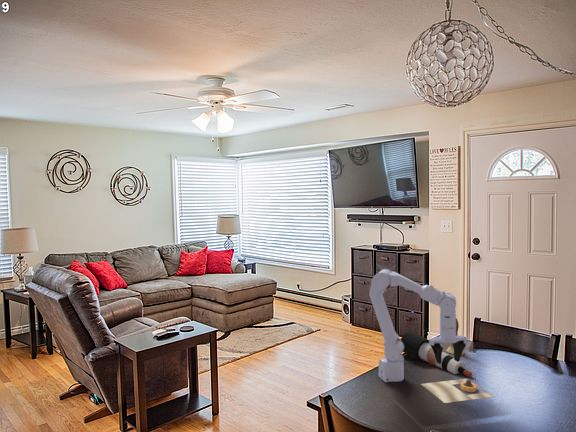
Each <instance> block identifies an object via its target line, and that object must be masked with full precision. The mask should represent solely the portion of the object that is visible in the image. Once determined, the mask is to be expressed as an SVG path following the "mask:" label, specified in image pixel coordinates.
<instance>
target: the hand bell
mask: <svg viewBox="0 0 576 432" xmlns="http://www.w3.org/2000/svg"><path fill="white" fill-rule="evenodd" d="M459 325H460V324H459V320H458V318H457V317H456V336H459V335H458V331H459V329H460V328H459ZM446 351H447V352H446ZM445 352H446V353H447V354H449V353H451V354H450V355H453V354H454V347H453V343H449V347H448V348H446V350H445ZM465 354H466V351H465V349H464V350H463V351H462V354H461V356H463V355H465Z"/></svg>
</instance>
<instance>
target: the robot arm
mask: <svg viewBox="0 0 576 432" xmlns="http://www.w3.org/2000/svg"><path fill="white" fill-rule="evenodd" d="M388 286H390V287H398V286H399V287H403V288H405V289H407V290H410V291H412V292H414V293H417V294H418V295H419V297H420V299H422V300H423V301H426V302H428V303H430V304H433V305H435V306H437V307H439V309H440V313H439V336H436V337H433V338H429V339H428V340H429V344H430V345H431V347H432V349H433V351H434V354H435V357H436V362H437V363H439V364H441V355H442V351H444V350H443V349H444V348H443V346H441V345H443V344H450V343H453V347H454V355H453V357H454V360H455V361H457V362H459V361H461V356H462V355H461V354H462V351H463V350H464V351H465V348H466V345H467V344H466V343H467V336H465V335H458V336H456V318H457V315H456V312H457V311H456V310H457V309H456V307H457V299H456V297H455V296H454V294H452V293H451V292H446V291H444V290H443V291H442V290H439V289H438V288H435V287H434V285H432V284H430V285H428V284H425V285H421V284H419V283H417V282H416V281H414V280H411V279H409V278H408V277H406V276H405V275H402V274H400V273H398V272H396V271H392V270H391V269H388V268H383V269H381V270H380V271H379V272H377V273H376V274H374V276H373V277H372V279H371V284H370V288H369V293H368V294H369V299H370V301H371V304H372V305H371V306H372V307H373V310H374V314H375V316H376V320H377V321H378V325H379V329H380V331H381V333H382V336H383V337H382V338H383V340H382V341H383V346H384V347H383V348H384V352H383V353H384V358H381V359H379V360H378V377H379V378H380V379H381V380H382V381H383V382H384V383H389V382H402V381H404V379H405V377H404V376H405V374H404V373H405V372H404V371H405V370H404V369H405V366H404V365H405V363H404V361H405V360H404V356H403V354H402V353H404V352H403V350H404V344H403V342H402V341H401V338H400V336H399V334H398V333H397V332H396V330H395V327H394V323H393V321H392V318H391V315H390V311H389V310H388V307H387V304H386V300H385V297H384V295H383V294H384V292H385V291H386V289H387V288H388Z"/></svg>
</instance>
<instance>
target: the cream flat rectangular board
mask: <svg viewBox="0 0 576 432" xmlns="http://www.w3.org/2000/svg"><path fill="white" fill-rule="evenodd" d="M461 382H466V386H467V387H471V383H474V384H475V385H477V389H479V390H481V391H483V392H481V393H480V392H479V393H470V394H465V393H464V392H463V391H462V390H460V389H458V388H457V387H456V386H455V385H460V384H461ZM420 385H421V386H423V388H425V389H426V390H427V391H429V392H430V393H431V394H433V395H434V396H435V397H436V398H437V399H438V400H440V401H441V402H442V403H443V404H449V403H457V402H463V401H465V402H466V401H471V400H479V399H486V398H495V396H494V395H493V394H492V393H490V392H488V391H487V390H486V389H484V388H482V387H480V385H478V384H476V383H475V382H473V381H472V380H470V379H469V378H460V379H451V380H444V381H436V382H435V381H434V382H427V383H421V384H420Z"/></svg>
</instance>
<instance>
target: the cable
mask: <svg viewBox="0 0 576 432" xmlns="http://www.w3.org/2000/svg"><path fill="white" fill-rule="evenodd" d="M400 340H401V341H402V342H403V344H404V350H403V352H402V353H404V354H406V355H408V356H409V357H411V358H413V359H415V360H416V361H419V362H421V361H422V362H427V363H429V364H430V365H433V366H435V367H437V368H440V369H442V370H444V371H447V372H449V373H451V374H454V375H457V374H461V375H465V376H466V377H468V378H472V377H473V373H472V371H470V370H468V369H467V368H465V362H463V361H461V360H459V362H457V361H455V360H454V356H452V355H451V354H449V353H447V352H446V351H444V350H442V355H441V364H439V363H437V362H436V357H435V354H434V351H433V349H432V347H431V345H430V344H429V339H428V338H425V337H423V336H421V335H419V334H417V333H415V332H414V331H410V330H409V331H407V332H405V333H404V334H403V335H402V336H401V338H400Z"/></svg>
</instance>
